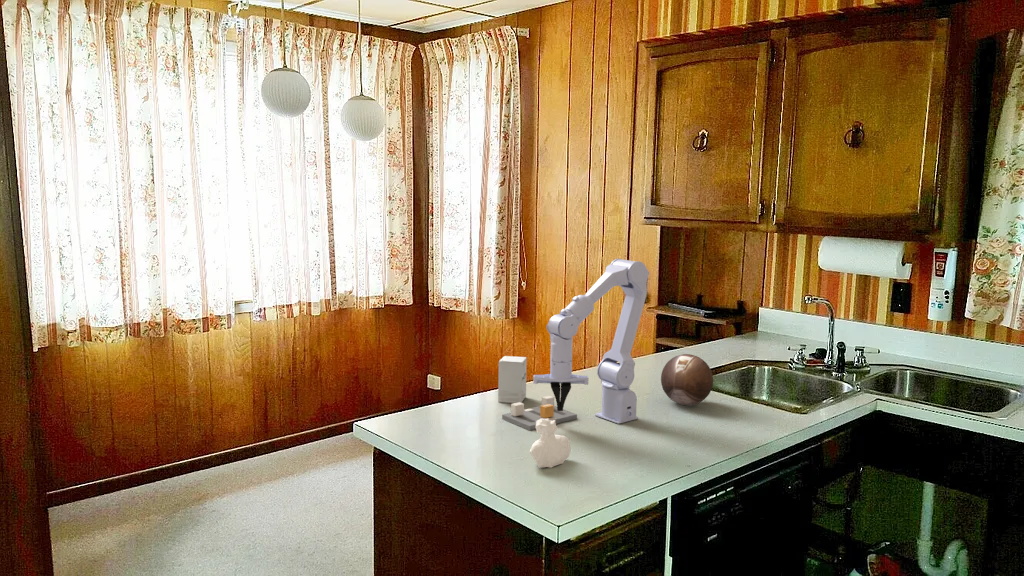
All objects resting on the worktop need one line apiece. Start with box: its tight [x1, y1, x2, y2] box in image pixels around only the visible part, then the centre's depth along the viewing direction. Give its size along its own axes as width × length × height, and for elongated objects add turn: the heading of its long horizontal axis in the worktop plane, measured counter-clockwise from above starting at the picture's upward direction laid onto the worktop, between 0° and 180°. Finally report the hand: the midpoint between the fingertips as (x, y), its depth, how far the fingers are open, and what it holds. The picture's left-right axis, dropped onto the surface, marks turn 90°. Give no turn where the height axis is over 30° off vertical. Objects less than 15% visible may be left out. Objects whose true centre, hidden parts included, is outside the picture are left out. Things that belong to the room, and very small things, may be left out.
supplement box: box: [497, 355, 528, 404], centre depth 219 cm, size 7×7×13 cm
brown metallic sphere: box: [660, 353, 714, 406], centre depth 215 cm, size 15×15×15 cm
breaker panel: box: [501, 395, 578, 431], centre depth 201 cm, size 12×17×4 cm
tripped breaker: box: [539, 404, 555, 418], centre depth 199 cm, size 2×3×3 cm, turn 128°
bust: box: [529, 418, 572, 469], centre depth 169 cm, size 12×8×11 cm
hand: (560, 409), depth 194 cm, fingers closed
